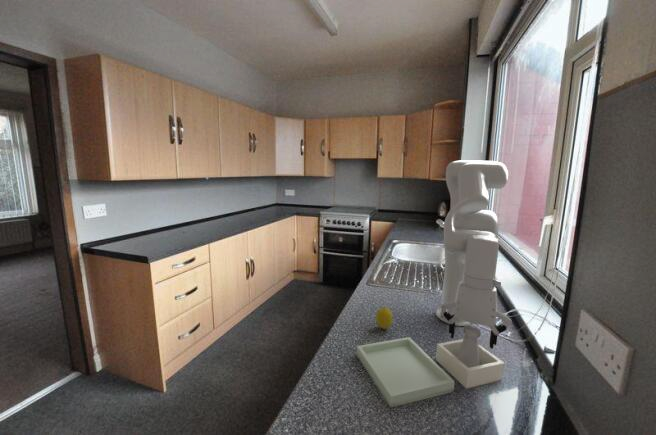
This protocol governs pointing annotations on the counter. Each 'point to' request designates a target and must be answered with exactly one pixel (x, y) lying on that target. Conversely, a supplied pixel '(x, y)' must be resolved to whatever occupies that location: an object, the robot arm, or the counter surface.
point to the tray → (403, 371)
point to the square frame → (472, 376)
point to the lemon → (384, 317)
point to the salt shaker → (470, 346)
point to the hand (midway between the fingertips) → (471, 340)
